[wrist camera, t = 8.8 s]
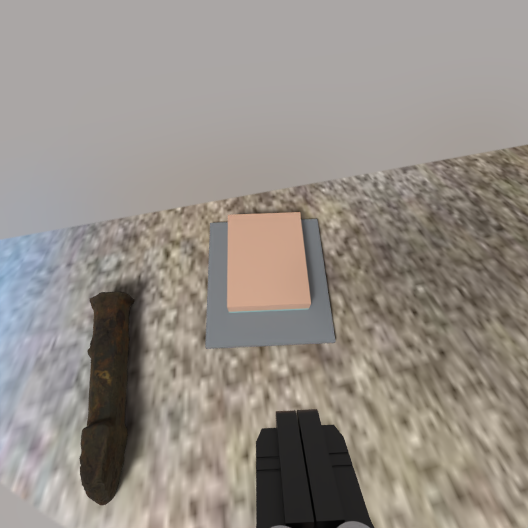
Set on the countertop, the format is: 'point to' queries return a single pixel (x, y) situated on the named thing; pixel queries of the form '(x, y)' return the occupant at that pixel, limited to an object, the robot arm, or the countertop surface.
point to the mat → (267, 322)
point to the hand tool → (106, 397)
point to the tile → (266, 263)
